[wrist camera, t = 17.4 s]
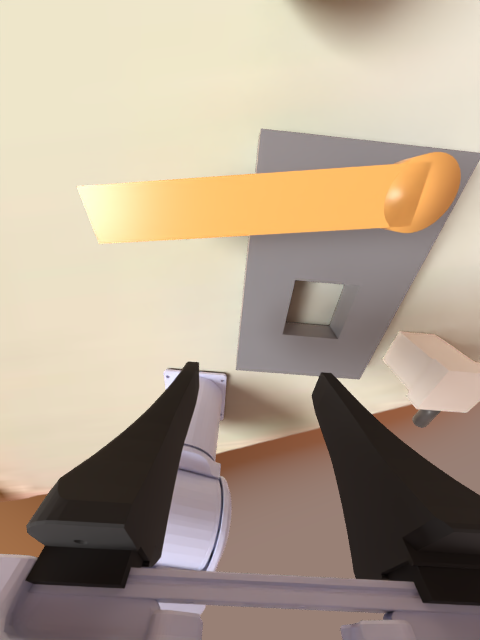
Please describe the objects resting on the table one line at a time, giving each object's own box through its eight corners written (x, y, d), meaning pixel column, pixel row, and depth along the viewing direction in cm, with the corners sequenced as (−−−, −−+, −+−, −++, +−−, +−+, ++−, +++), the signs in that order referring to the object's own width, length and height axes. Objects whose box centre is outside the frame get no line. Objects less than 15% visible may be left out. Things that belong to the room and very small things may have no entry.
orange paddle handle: (117, 244, 12) (101, 249, 10) (95, 181, 10) (73, 178, 9) (417, 227, 11) (441, 231, 9) (443, 156, 9) (475, 148, 8)
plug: (403, 384, 27) (445, 432, 21) (366, 381, 26) (398, 429, 21) (441, 331, 22) (506, 375, 17) (397, 327, 22) (448, 370, 17)
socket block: (349, 363, 25) (381, 413, 19) (236, 355, 25) (234, 403, 19) (448, 160, 15) (581, 133, 9) (258, 139, 14) (268, 97, 9)
